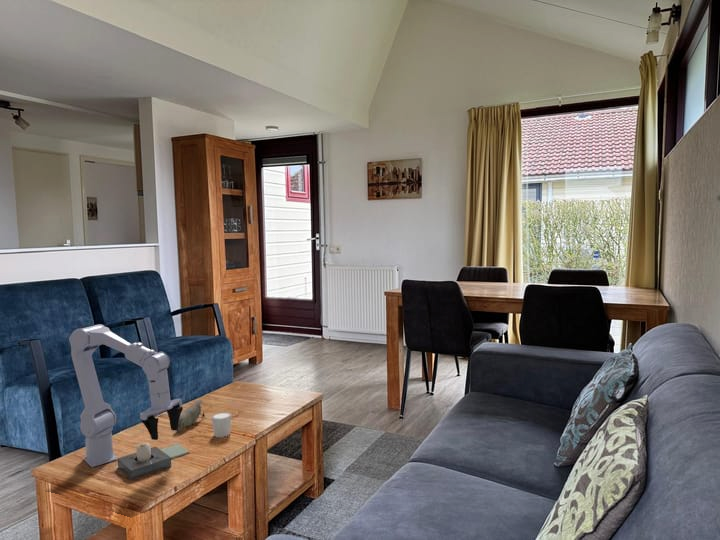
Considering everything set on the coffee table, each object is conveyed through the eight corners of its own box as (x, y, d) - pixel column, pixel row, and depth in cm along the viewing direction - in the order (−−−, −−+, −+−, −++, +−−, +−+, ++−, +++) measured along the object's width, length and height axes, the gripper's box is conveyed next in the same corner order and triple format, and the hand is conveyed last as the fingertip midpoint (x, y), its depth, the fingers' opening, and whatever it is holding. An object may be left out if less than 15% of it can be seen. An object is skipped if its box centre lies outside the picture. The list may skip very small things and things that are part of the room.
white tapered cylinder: (211, 432, 185) (210, 413, 184) (230, 429, 187) (230, 411, 187) (213, 439, 178) (212, 420, 178) (233, 436, 181) (232, 417, 180)
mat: (157, 451, 169) (157, 450, 169) (178, 445, 174) (177, 443, 174) (168, 459, 163) (168, 458, 163) (189, 452, 168) (189, 451, 167)
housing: (118, 467, 158) (117, 458, 158) (156, 455, 166) (155, 446, 166) (131, 480, 149) (131, 470, 149) (171, 466, 158) (170, 457, 158)
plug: (135, 467, 158) (134, 444, 158) (148, 463, 161) (147, 441, 160) (140, 471, 155) (139, 448, 155) (153, 467, 158) (152, 444, 157)
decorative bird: (171, 432, 186) (170, 413, 186) (195, 417, 202) (194, 399, 201) (184, 433, 185) (183, 414, 184) (207, 418, 200) (206, 400, 200)
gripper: (149, 400, 149) (154, 445, 149) (186, 385, 162) (191, 427, 162) (133, 398, 152) (138, 442, 153) (171, 384, 165) (176, 425, 166)
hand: (164, 434), depth 158 cm, fingers open, 7 cm apart
